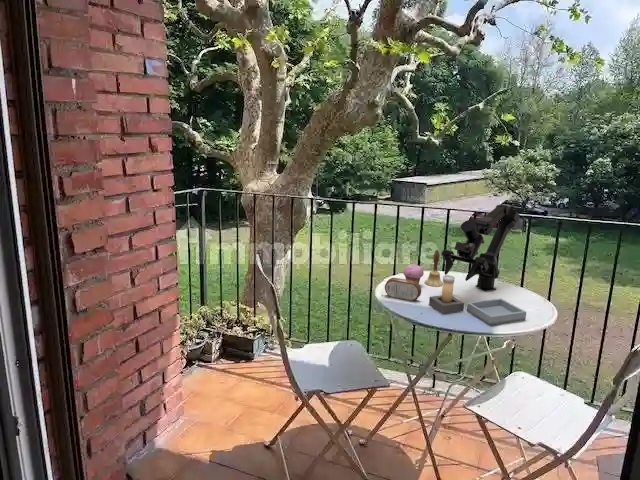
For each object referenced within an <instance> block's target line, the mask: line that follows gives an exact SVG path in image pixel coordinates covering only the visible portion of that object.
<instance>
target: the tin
mask: <svg viewBox="0 0 640 480" xmlns="http://www.w3.org/2000/svg"><path fill="white" fill-rule="evenodd" d="M384 290H385V293H386V294H387V295H388V297H390V298H393V299H398V300H402V301H403V300H404V301H409V302H413V301H416V300H418V299H419V298H420V296H421V294H422V288H421V286H420V283H419V284H418V283H417V282H415V281H411V280H406V278H405V279H404V278H399V277H391V278H389V279H388V280H387V281H386V283H385V284H384Z"/></svg>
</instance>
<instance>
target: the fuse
mask: <svg viewBox="0 0 640 480" xmlns="http://www.w3.org/2000/svg"><path fill="white" fill-rule="evenodd" d="M442 283H443V286H442V290H441V295H442V300H441V301H442V302H444V303H451V302H452V296H454V293H453V292H454V285H455V284H454V283H455V276H453V275H450V274H449V275H448V274H447V275H445V274H444V275H443V276H442Z"/></svg>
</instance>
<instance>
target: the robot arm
mask: <svg viewBox="0 0 640 480" xmlns="http://www.w3.org/2000/svg"><path fill="white" fill-rule="evenodd" d="M502 219H503V221H502ZM500 220H501V221H500ZM519 220H520V214H519V212H518V211H517V210H515V209H513V208H511V207H510V206H509V205H504V204H496V206H495V208H494V209H492V210H491V211H490V212H489V213H487V214H486V215H485V216H481V217H477V218H472V217H471V218H470V217H469V219H467V220H465V221H463V222H462V223H461V224H460V229H461V232H462V233H463V236H464V238H465V239H466V241H465V242H460V241H456V243H455V246H454V250H455V251H456V253H457V254H458V255H457V254H455V253H454V251H453V250H449V249H446V248H445V249H443V250H442V251H441V253H440V255H441V256H442V258H443V260H444V261H445V268H444V276H445V275H448V273H449V272H450V270H452V268H453V266H454V262H455V261H459V262H463V263H466V264H470V265H471V267H470V269H469V270H468V273H467V275H466V276H465V278H464V279H465V281H466V282H467V281H468V280H470V279H472V278H473V277H475V276H476V275H478V278H477V283H476V285H475V288H478V289H480V290H482V291H483V292H488V291H495V290H497V288H496V287H495V279H498V278H499V275H500V269H499V267H498V265H499V264H498V259H497V257H498V255H499V253H500V252H501V251H500V250H501V249H502V246H503V244H504V241H505V239H506V237H507V236H508V233H509V231H510V230H511V229H513V228H515V227H516V225H517V223H518V222H519ZM497 223H498V225H497V228H496V229H495V232H494V233H493V234H494V235H493V236H492V239H491V241H490V243H489V245H488V248H487V249H486V252H484V253H482V252H481V253H480V254H479V249H480V247H481V245H483V244H485V240H484V237H483V235H484V236H488V235H489V234H491V232H492V231H493V230H494V229H493V228H494V227H493V226H495V224H497ZM478 254H479V256H477V255H478ZM475 256H476V257H475Z"/></svg>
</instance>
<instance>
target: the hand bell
mask: <svg viewBox="0 0 640 480" xmlns="http://www.w3.org/2000/svg"><path fill="white" fill-rule="evenodd" d="M432 259H433V269H432V270H431V271H429V275H428V278H426V280H424V284H425V285H426V286H429V287H436V288H438V287H443V280H441V273H440V271H438V263H439V261H440V252H439V249H435V251H434V253H433V258H432Z"/></svg>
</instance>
